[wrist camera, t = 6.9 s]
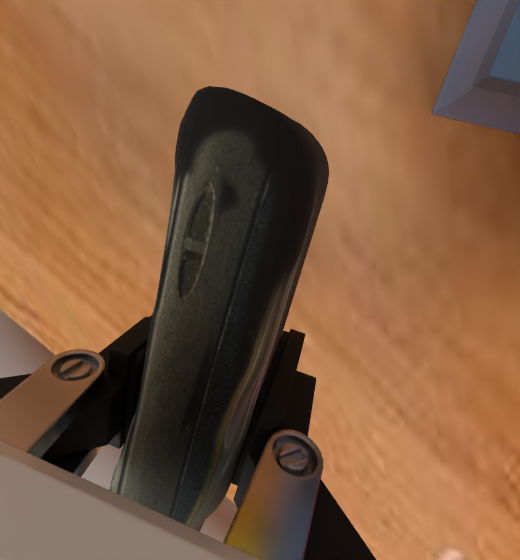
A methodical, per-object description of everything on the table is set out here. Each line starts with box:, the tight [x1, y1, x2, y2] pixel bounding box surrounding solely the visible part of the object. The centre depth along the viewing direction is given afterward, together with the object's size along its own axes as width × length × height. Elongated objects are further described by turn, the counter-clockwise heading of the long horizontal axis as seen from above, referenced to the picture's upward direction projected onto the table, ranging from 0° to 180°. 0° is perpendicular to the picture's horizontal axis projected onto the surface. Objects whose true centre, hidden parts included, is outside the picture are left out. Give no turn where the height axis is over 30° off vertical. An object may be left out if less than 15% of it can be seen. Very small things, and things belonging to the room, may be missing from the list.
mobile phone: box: [110, 86, 329, 532], centre depth 10 cm, size 5×3×15 cm
